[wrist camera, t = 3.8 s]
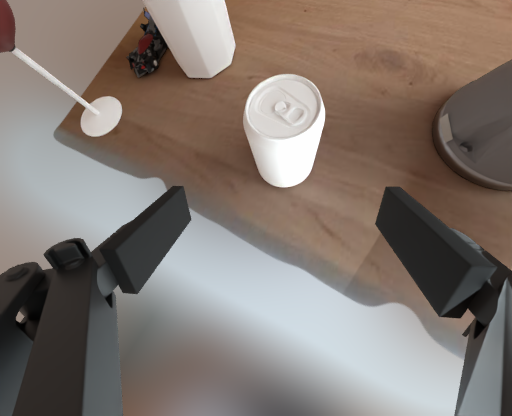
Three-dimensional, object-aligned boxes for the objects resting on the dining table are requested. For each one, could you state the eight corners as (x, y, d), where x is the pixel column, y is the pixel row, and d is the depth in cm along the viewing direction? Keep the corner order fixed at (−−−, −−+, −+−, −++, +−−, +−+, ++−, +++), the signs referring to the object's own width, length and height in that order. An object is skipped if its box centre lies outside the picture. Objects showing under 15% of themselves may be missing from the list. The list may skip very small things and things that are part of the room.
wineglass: (133, 102, 38) (-83, -114, 16) (101, 147, 37) (-184, -22, 14) (100, 87, 40) (-130, -122, 18) (69, 128, 39) (-221, -42, 17)
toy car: (180, 33, 40) (168, 8, 36) (152, 82, 38) (137, 62, 34) (155, 28, 42) (141, 5, 38) (127, 76, 40) (109, 56, 36)
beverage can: (280, 129, 32) (275, 57, 20) (324, 157, 30) (346, 93, 18) (247, 168, 31) (222, 116, 20) (289, 199, 29) (290, 161, 18)
